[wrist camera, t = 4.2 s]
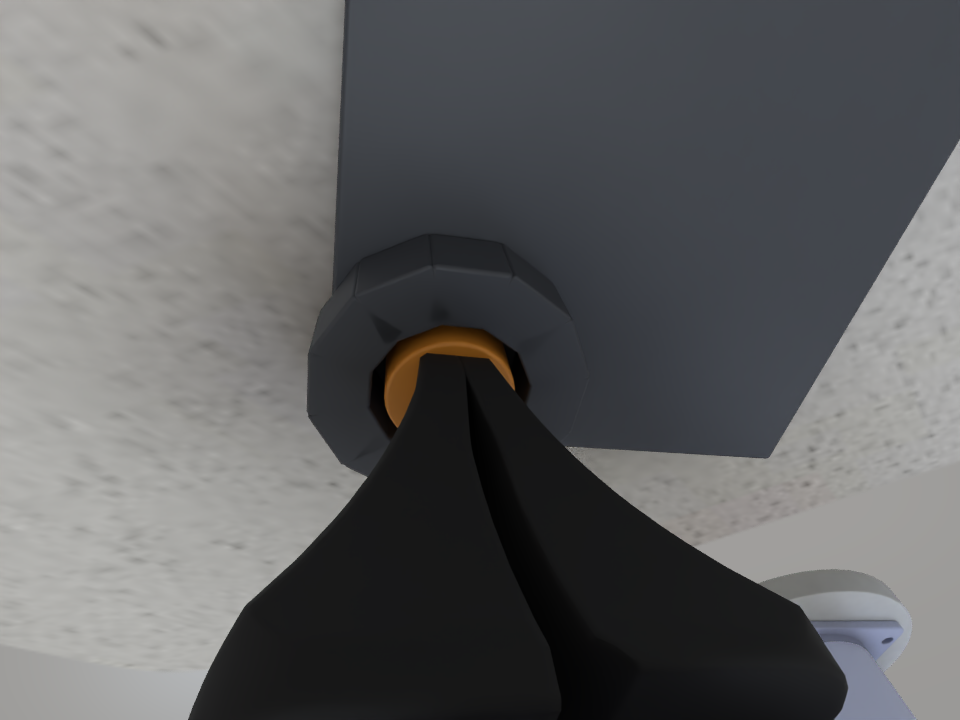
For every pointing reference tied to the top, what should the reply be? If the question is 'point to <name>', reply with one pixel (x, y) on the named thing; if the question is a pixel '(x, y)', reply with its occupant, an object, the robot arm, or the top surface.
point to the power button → (437, 341)
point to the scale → (626, 203)
